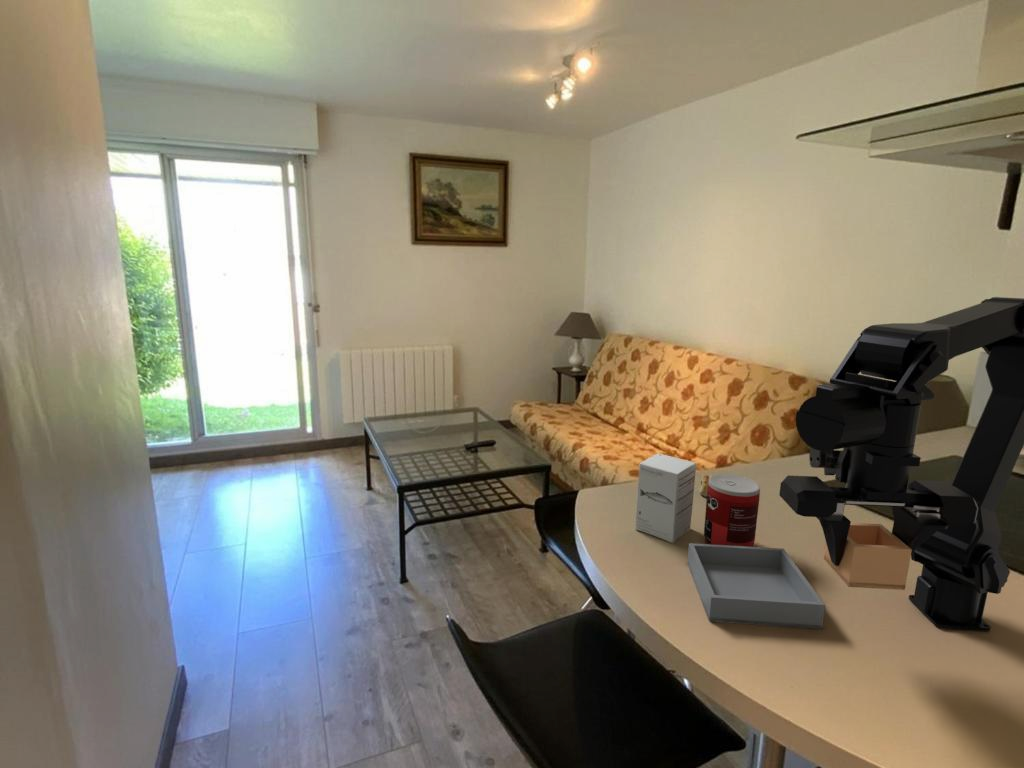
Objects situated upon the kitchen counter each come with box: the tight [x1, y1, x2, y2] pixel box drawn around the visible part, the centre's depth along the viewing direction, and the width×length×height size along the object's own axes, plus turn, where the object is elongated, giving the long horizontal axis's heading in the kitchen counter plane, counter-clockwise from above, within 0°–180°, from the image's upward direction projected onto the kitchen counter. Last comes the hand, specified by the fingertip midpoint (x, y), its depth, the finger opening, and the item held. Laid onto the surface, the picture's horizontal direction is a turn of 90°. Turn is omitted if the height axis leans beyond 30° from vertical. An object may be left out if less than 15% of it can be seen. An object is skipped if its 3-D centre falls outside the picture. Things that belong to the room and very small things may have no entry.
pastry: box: [698, 474, 715, 498], centre depth 109 cm, size 9×7×4 cm
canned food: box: [703, 473, 761, 547], centre depth 89 cm, size 8×8×11 cm
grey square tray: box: [687, 543, 826, 630], centre depth 76 cm, size 14×14×4 cm
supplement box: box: [634, 452, 698, 544], centre depth 94 cm, size 7×7×13 cm
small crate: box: [823, 522, 912, 591], centre depth 63 cm, size 6×6×5 cm
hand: (863, 565), depth 64 cm, fingers closed on small crate, 6 cm apart
